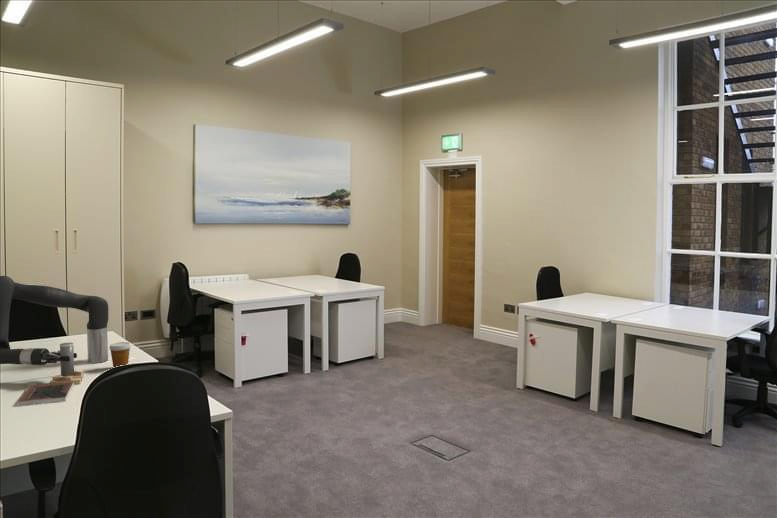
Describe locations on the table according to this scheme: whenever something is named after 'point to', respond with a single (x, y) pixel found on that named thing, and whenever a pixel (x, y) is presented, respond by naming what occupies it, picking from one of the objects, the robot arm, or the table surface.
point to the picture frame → (46, 393)
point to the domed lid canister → (67, 366)
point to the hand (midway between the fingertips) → (72, 357)
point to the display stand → (69, 378)
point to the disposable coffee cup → (120, 353)
